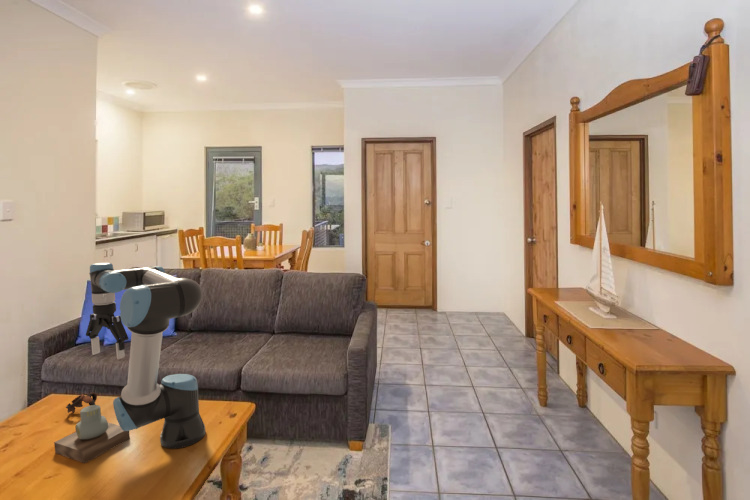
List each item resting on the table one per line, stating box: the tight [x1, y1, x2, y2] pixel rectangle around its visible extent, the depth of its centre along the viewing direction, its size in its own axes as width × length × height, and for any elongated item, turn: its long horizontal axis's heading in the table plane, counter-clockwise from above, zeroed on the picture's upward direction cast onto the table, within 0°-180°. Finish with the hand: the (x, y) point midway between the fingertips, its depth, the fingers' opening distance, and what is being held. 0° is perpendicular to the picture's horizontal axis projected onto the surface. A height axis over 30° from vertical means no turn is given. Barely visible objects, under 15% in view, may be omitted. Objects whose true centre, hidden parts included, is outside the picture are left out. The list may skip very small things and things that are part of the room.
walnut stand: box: [53, 422, 131, 464], centre depth 147 cm, size 16×16×4 cm
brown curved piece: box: [65, 392, 98, 413], centre depth 173 cm, size 12×10×8 cm
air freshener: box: [75, 404, 109, 439], centre depth 146 cm, size 11×8×10 cm
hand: (108, 355), depth 161 cm, fingers open, 13 cm apart
